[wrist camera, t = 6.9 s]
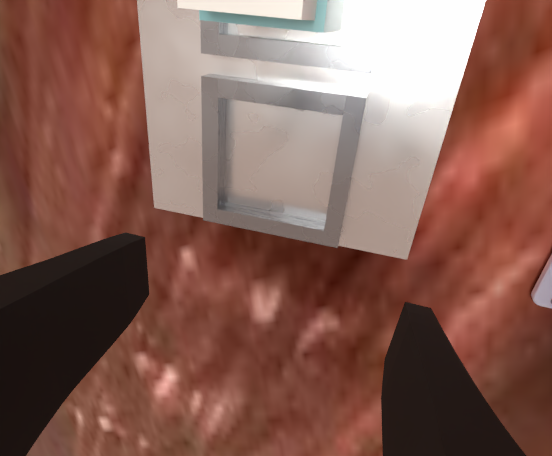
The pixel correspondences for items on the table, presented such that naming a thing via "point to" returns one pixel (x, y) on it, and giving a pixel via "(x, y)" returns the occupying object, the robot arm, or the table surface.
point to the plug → (272, 13)
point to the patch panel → (304, 118)
